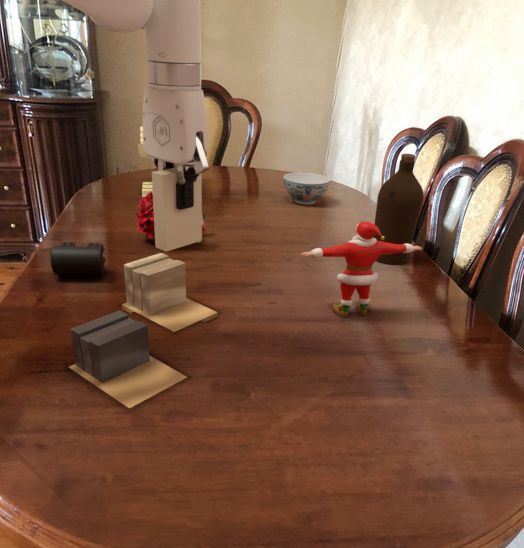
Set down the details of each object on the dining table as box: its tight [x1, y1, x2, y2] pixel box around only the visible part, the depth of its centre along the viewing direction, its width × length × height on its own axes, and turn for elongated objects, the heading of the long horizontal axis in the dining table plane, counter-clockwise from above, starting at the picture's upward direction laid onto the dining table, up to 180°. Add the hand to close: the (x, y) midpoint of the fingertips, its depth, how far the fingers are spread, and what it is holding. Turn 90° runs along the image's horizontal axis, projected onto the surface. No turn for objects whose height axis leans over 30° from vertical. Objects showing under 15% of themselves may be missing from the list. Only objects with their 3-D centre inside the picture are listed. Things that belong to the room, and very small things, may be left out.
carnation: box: [135, 191, 207, 244], centre depth 139 cm, size 16×18×35 cm
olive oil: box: [373, 153, 424, 265], centre depth 127 cm, size 11×11×25 cm
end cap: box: [50, 241, 107, 278], centre depth 111 cm, size 10×7×7 cm
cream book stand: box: [121, 252, 219, 333], centre depth 98 cm, size 15×11×9 cm
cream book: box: [151, 166, 203, 252], centre depth 84 cm, size 3×8×12 cm, turn 140°
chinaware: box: [283, 172, 331, 206], centre depth 172 cm, size 15×15×8 cm
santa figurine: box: [300, 221, 423, 318], centre depth 100 cm, size 25×6×19 cm, turn 107°
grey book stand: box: [68, 310, 188, 409], centre depth 80 cm, size 15×11×8 cm
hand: (178, 204), depth 84 cm, fingers closed on cream book, 2 cm apart
